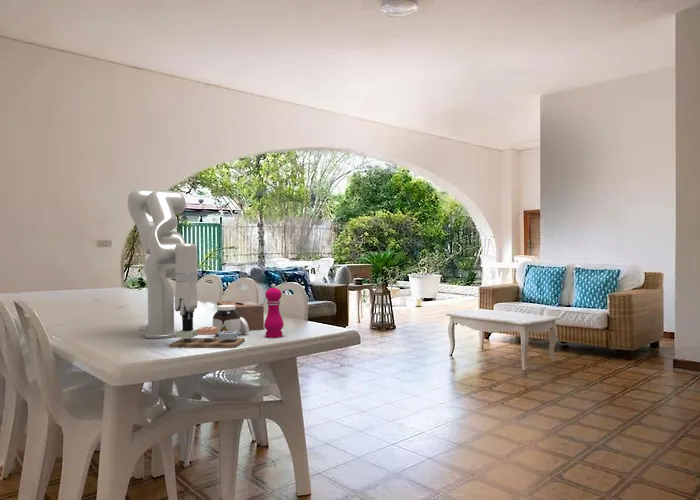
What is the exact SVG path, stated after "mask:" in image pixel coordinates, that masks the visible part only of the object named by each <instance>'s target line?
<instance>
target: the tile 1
mask: <svg viewBox="0 0 700 500" xmlns="http://www.w3.org/2000/svg"><path fill="white" fill-rule="evenodd" d="M177 331H178V332H177V336H176V339H182V338H196V337H197V336H199V335H198V332H197V329H193V330H191V331H183V329H181V330H177Z"/></svg>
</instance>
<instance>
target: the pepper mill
mask: <svg viewBox="0 0 700 500" xmlns="http://www.w3.org/2000/svg"><path fill="white" fill-rule="evenodd" d="M265 291H266V292H265V298H266V305H267V308H268V309H267V315H266V318H265V319H264V329H265V330H266V332H265V337H266V338H269V339H274V338H275V339H276V338H281V337H283V328H284V320H283V317H282V315H281V313H280V305H281V300H280V299H282V291H281V290H280V289H279V288H277V287H276V283H272V284H271V285H270V288H268V289H267V290H265Z"/></svg>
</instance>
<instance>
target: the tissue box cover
mask: <svg viewBox="0 0 700 500" xmlns="http://www.w3.org/2000/svg"><path fill="white" fill-rule="evenodd" d="M216 305H217V306H220V305H235V307H236V309H235V310H236V311H237V312H238V313H239V315H240V317H242V318H244V319H245V321H246V322H247V324H248V327H249V332H252V331H265V327H264V323H265V313H264V310H265V309H264V308H265V305H263V304H260V303H258V302H256V301H253V300H251V299H243V300H242V299H239V300H223V301H216ZM217 306H216V307H217ZM216 310H217V309H216ZM217 311H218V310H217ZM217 311H216V312H217Z"/></svg>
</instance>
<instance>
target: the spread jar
mask: <svg viewBox="0 0 700 500" xmlns="http://www.w3.org/2000/svg"><path fill="white" fill-rule="evenodd" d="M216 308H217V309H216V310H218V311H216V312H215V313H214V314H213V317H212V327H218V333H216V334H214V336H216V338H219V333H221V332H223V331H239V333H241V334H242V335H247V334H248V333H249V332H250V331H249V327H248V324H247V322H246V321H245V319H244V318H242V317H240V315H239V313H238V312H237V311H236V310H235V309H236V307H235V305H220V306H216Z"/></svg>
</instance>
